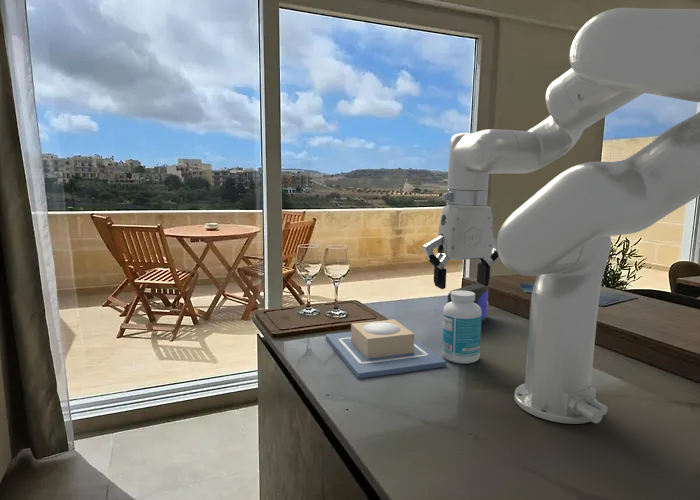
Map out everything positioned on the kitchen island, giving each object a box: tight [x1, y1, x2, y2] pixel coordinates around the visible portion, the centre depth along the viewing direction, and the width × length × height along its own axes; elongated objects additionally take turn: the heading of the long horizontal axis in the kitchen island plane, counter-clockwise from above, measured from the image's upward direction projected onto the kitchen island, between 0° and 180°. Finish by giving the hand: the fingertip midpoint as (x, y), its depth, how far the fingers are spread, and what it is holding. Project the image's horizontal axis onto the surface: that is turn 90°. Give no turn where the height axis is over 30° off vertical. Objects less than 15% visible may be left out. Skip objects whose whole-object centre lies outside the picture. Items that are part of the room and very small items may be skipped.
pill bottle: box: [441, 290, 482, 365], centre depth 94 cm, size 8×7×14 cm
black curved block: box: [446, 282, 489, 324], centre depth 116 cm, size 16×5×9 cm, turn 134°
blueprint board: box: [325, 319, 447, 380], centre depth 98 cm, size 22×18×5 cm
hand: (461, 285), depth 93 cm, fingers open, 9 cm apart
